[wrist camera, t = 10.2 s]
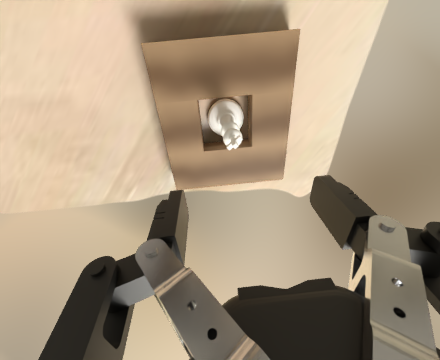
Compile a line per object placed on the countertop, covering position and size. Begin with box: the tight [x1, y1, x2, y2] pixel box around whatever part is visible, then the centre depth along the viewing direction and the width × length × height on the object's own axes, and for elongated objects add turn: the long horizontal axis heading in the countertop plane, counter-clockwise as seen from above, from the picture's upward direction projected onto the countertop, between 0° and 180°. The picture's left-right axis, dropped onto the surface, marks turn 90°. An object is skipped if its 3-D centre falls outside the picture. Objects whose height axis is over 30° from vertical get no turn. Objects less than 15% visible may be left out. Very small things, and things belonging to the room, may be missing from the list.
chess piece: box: [208, 99, 244, 150], centre depth 23 cm, size 5×5×10 cm
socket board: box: [141, 29, 300, 190], centre depth 26 cm, size 18×16×3 cm
